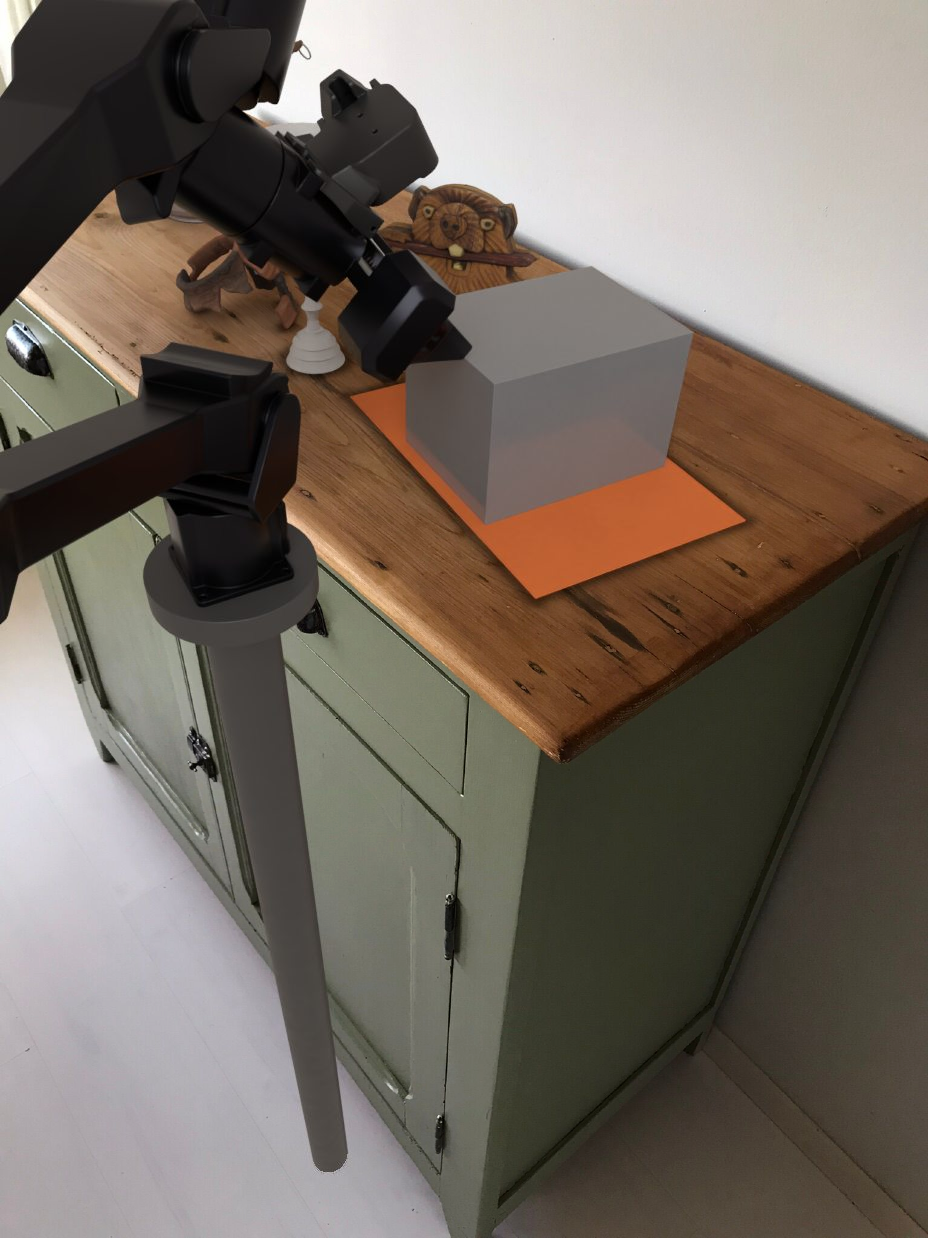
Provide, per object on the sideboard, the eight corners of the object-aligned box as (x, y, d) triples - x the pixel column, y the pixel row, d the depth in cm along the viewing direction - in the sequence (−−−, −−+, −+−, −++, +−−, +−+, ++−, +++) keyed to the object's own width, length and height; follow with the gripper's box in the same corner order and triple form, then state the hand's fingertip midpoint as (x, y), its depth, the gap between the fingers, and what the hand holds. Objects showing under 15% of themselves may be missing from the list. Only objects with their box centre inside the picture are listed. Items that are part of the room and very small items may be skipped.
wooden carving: (364, 292, 93) (360, 185, 86) (379, 273, 96) (377, 169, 89) (529, 318, 90) (539, 210, 83) (539, 298, 93) (549, 192, 87)
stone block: (484, 525, 67) (494, 384, 59) (405, 440, 74) (405, 305, 66) (664, 466, 73) (693, 331, 65) (574, 394, 80) (591, 265, 73)
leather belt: (288, 350, 85) (230, 275, 79) (210, 374, 90) (150, 305, 84) (326, 264, 91) (274, 189, 85) (251, 290, 96) (197, 221, 90)
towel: (535, 602, 62) (535, 597, 61) (350, 400, 79) (350, 396, 79) (744, 524, 68) (746, 519, 68) (532, 354, 86) (533, 350, 86)
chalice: (328, 332, 87) (315, 116, 74) (373, 362, 83) (366, 140, 71) (258, 355, 83) (232, 132, 71) (301, 388, 79) (281, 158, 67)
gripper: (419, 131, 43) (595, 289, 55) (274, -16, 53) (450, 144, 65) (276, 326, 47) (469, 434, 59) (166, 154, 57) (350, 276, 69)
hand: (434, 312), depth 63 cm, fingers open, 9 cm apart
